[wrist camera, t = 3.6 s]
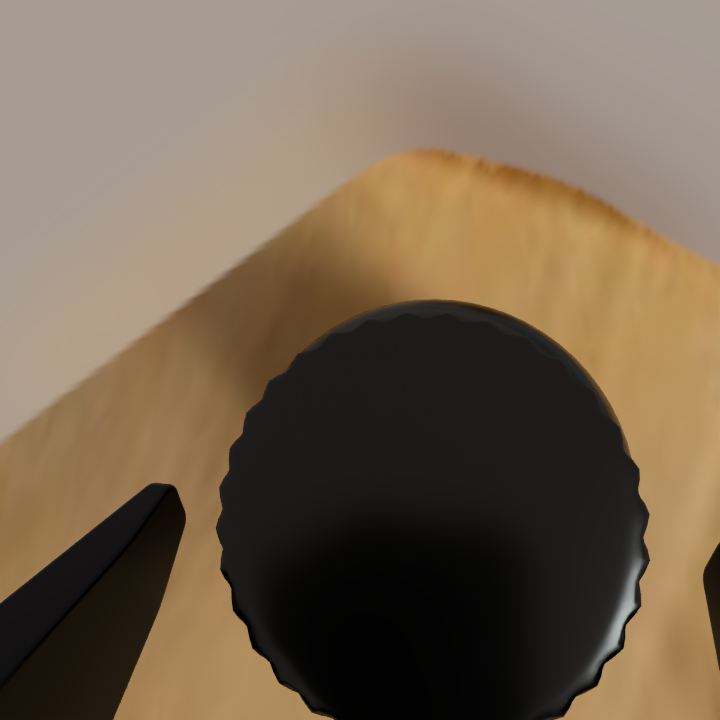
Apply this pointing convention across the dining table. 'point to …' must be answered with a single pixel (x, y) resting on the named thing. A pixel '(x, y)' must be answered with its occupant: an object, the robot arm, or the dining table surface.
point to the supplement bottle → (434, 520)
